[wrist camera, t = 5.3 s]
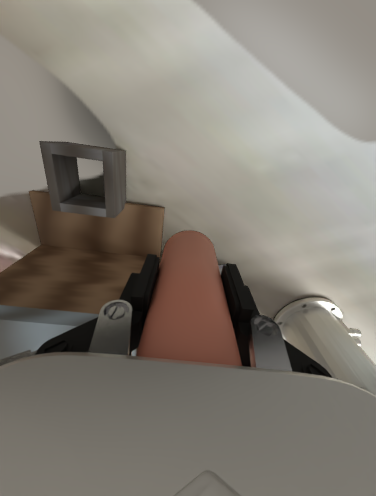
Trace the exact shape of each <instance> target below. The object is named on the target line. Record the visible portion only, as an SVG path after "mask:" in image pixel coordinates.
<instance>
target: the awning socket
mask: <svg viewBox="0 0 376 496" xmlns="http://www.w3.org/2000/svg"><path fill="white" fill-rule="evenodd" d="M40 147H41V153H42V158H43V163H44V168H45V174H46V179H47V184H48V190H49V192H42V191H34V190H32V191H29V195H30V199H31V203H32V207H33V212H34V216H35V220H36V224H37V229H38V233H39V237H40V242H41V245H40V246H39V247H37V248H36V249H34V250H33V251H31V252H30V253H29V254H27V255H26V256H24V257H23V258H21V259H20V260H18V261H17V262H15V263H14V264H12V265H11V266H10V267H8V268H7V269H5V270H4V271H2V272H1V273H0V359H3V358H6V357H9V356H12V355H15V354H18V353H21V352H24V351H27V350H30V349H31V352H33V351H36V350H38V349H39V347H40V346H41V345H42V344H44V343H45V342H46V341H48V340H50V339H51V338H53V337H56V336H58V335H60V334H62V333H64V332H66V331H69V330H71V329H73V328H75V327H77V326H79V325H82V324H84V323H86V322H88V321H90V320H93V319H95V318H97V317H98V316H99V313H100V310H101V308H102V307H103V306H104V305H105V304H106V303H108V302H110V301H113V300H119V298H120V296H121V294H122V292H123V289H124V287H125V285H126V283H127V281H128V279H129V277H130V275H131V273H140V272H141V269H142V267H143V264H144V262H145V259H146V257H147V254H154V255H157V257H160V256H161V244H162V232H163V220H164V207H157V206H149V205H141V204H134V203H126V151H124V150H117V149H110V148H104V147H97V146H90V145H83V144H76V143H69V142H46V141H45V142H44V141H40ZM76 157H78V158H85V159H92V160H99V161H103V172H104V189H105V197H102V196H94V195H87V194H81V192H80V184H79V175H78V167H77V158H76ZM159 266H160V262H159ZM137 350H138V348H136V349H135V350H133V351H132V356H136V354H137Z"/></svg>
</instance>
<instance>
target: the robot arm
mask: <svg viewBox="0 0 376 496" xmlns="http://www.w3.org/2000/svg"><path fill="white" fill-rule="evenodd" d="M159 262H160V257H157V255H154V254H147V257H146V259H145V262H144V264H143V267H142V269H141V272H140V273H131V275H130V277H129V279H128V281H127V283H126V285H125V287H124V289H123V292H122V294H121V296H120V298H119V300H113V301H110V302H108V303H106V304H105V305H104V306H103V307H102V308H101V310H100V313H99V316H98V317H97V318H95V319H93V320H90V321H88V322H86V323H84V324H82V325H79V326H77V327H75V328H73V329H71V330H69V331H66V332H64V333H62V334H60V335H58V336H56V337H53V338H51V339H50V340H48V341H46V342H45V343H44V344H42V345H41V346H40V347H39V349H38V350H36V351H33V352H31V349H30V350H27V351H24V352H21V353H18V354H15V355H12V356H9V357H6V358H3V359H0V496H376V365H375V364H374V362H373V361H372V360H371V359H370V358H369V357H368V355H367V354H366V353H365V352H364V351H363V350H362V348H361V341H360V340H359V339H358V338H357V337H360V336H361V332H360V330H358V329H352V328H349V329H348V328H347V327H346V325H345V324H344V323H343V322H342V313H341V310H340V309H339V308H338V307H337V306H336V305H335V304H334V303H333V302H332V301H330V300H328V299H324V298H318V297H313V298H305V299H301V300H298V301H295V302H293V303H291V304H289V305H287V306H286V307H284V308H283V309H282V310H281V311H280V312H279V313H278V314H277V315H276V317H275V319H274V320H272V319H271V318H269V317H266V316H264V315H260V314H259V312H258V309H257V307H256V305H255V302H254V300H253V297H252V295H251V293H250V290H249V288H248V286H244V284H243V281H242V278H241V276H240V273H239V271H238V268H237V266H236V264H228V263H227V264H226V265H223V268H222V272H221V279H222V283H223V287H224V291H225V295H226V300H227V304H228V308H229V312H230V316H231V321H232V325H233V329H234V333H235V337H236V341H237V346H238V350H239V354H240V358H241V362H242V366H235V365H225V364H215V363H204V362H194V361H183V360H173V359H161V358H150V357H139V356H132V351H133V350H135V349H136V348H138V346H139V343H140V339H141V335H142V331H143V327H144V323H145V320H146V316H147V313H148V309H149V305H150V302H151V298H152V294H153V290H154V286H155V282H156V278H157V274H158V271H159ZM351 336H354V337H351Z"/></svg>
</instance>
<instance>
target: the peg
mask: <svg viewBox="0 0 376 496" xmlns="http://www.w3.org/2000/svg"><path fill="white" fill-rule="evenodd" d="M136 356H139V357H150V358H161V359H173V360H183V361H194V362H204V363H215V364H225V365H235V366H242V362H241V358H240V354H239V350H238V346H237V341H236V337H235V333H234V329H233V325H232V321H231V316H230V312H229V308H228V304H227V300H226V295H225V291H224V287H223V283H222V279H221V275H220V270H219V266H218V262H217V258H216V254H215V250H214V246H213V244H212V242H211V241H210V239H209V238H208V237H206V236H205V235H204V234H202V233H200V232H197V231H182V232H179V233H176V234H175V235H173V236H172V237H171V238H170V239H169V240H168V241H167V243H166V244H165V247H164V251H163V255H162V258H161V262H160V266H159V271H158V274H157V278H156V282H155V286H154V290H153V294H152V298H151V302H150V305H149V309H148V313H147V316H146V320H145V323H144V327H143V331H142V335H141V339H140V343H139V346H138V350H137V354H136Z"/></svg>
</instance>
